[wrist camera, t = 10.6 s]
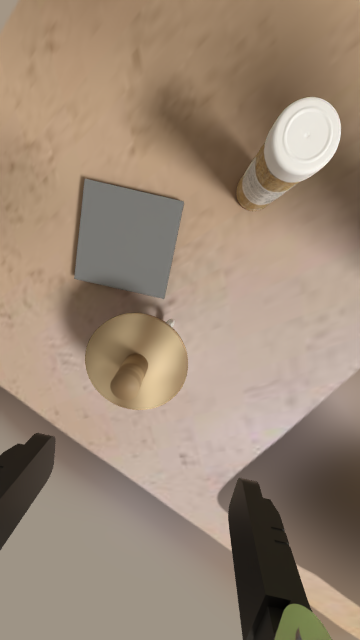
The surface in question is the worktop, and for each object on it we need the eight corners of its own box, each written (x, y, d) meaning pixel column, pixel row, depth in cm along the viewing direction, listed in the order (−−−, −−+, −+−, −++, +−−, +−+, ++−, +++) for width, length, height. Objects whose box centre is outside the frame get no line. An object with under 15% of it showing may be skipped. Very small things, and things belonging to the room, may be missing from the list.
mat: (183, 203, 29) (183, 201, 28) (164, 297, 32) (163, 298, 31) (88, 181, 29) (84, 178, 28) (77, 278, 32) (74, 278, 31)
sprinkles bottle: (270, 165, 28) (341, 82, 15) (276, 206, 29) (347, 163, 16) (231, 176, 28) (267, 105, 15) (238, 216, 29) (277, 182, 16)
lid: (197, 324, 27) (199, 341, 21) (177, 414, 30) (174, 450, 24) (93, 303, 27) (67, 315, 21) (83, 395, 30) (58, 427, 24)
